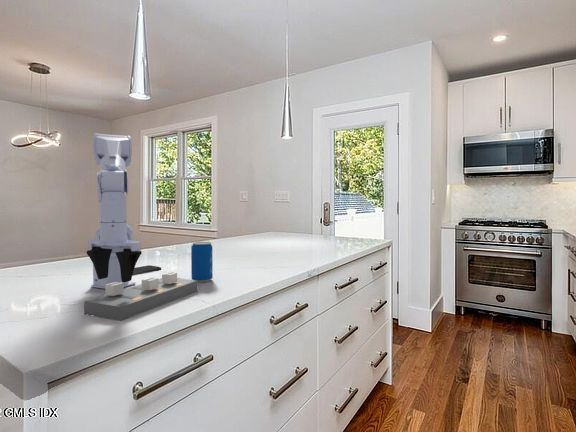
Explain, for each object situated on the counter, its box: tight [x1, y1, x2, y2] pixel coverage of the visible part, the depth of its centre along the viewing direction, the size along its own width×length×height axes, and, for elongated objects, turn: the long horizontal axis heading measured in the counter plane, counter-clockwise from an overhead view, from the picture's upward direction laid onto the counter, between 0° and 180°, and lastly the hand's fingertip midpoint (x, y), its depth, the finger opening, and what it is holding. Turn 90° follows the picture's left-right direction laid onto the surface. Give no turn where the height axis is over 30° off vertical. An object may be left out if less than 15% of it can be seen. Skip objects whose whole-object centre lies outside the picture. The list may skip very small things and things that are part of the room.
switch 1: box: [104, 282, 125, 296], centre depth 81 cm, size 2×3×2 cm
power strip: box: [83, 277, 199, 322], centre depth 89 cm, size 11×31×3 cm, turn 158°
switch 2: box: [141, 277, 159, 291], centre depth 86 cm, size 2×3×2 cm
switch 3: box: [161, 271, 178, 284], centre depth 93 cm, size 2×3×2 cm
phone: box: [132, 264, 162, 276], centre depth 122 cm, size 8×1×15 cm
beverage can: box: [190, 241, 214, 283], centre depth 109 cm, size 6×6×12 cm
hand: (114, 279), depth 81 cm, fingers open, 7 cm apart
